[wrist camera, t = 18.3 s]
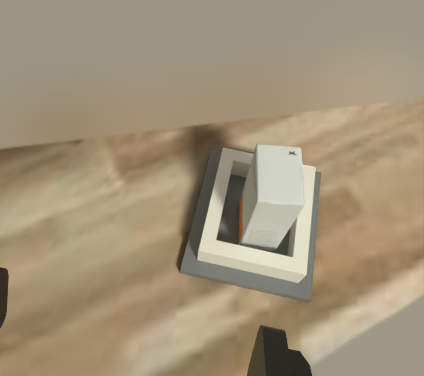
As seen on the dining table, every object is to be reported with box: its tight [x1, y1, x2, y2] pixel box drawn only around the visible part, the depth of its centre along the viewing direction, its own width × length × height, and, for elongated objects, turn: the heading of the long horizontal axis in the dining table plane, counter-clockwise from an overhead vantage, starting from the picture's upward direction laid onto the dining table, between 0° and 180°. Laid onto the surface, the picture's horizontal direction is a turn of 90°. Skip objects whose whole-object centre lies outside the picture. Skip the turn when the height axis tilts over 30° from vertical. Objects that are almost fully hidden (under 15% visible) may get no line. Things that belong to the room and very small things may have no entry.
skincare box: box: [238, 144, 305, 252], centre depth 38 cm, size 6×4×12 cm
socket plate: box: [180, 147, 321, 302], centre depth 43 cm, size 14×16×4 cm
